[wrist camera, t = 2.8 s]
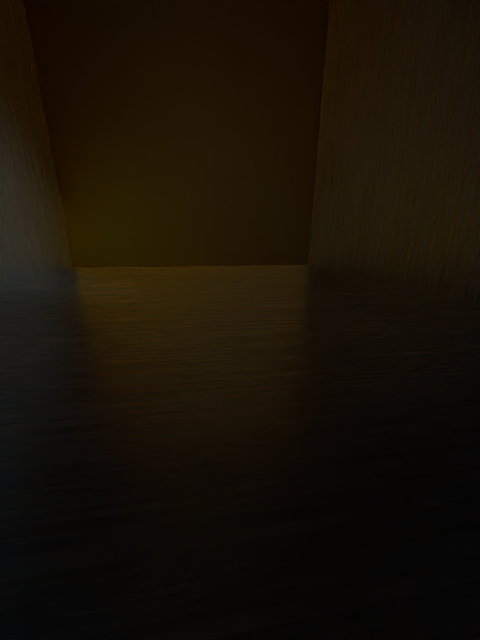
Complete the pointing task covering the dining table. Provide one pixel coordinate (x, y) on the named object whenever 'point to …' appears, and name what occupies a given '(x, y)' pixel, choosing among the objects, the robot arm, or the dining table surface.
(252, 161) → the dining table surface
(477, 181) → the grey open box
